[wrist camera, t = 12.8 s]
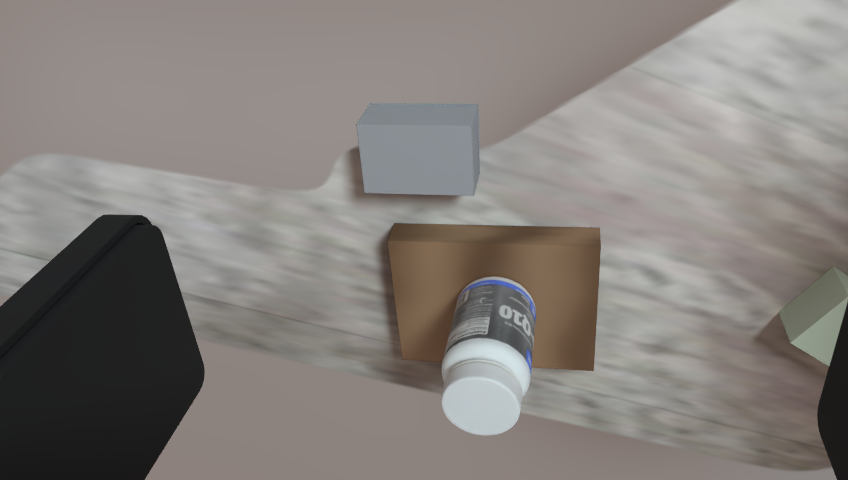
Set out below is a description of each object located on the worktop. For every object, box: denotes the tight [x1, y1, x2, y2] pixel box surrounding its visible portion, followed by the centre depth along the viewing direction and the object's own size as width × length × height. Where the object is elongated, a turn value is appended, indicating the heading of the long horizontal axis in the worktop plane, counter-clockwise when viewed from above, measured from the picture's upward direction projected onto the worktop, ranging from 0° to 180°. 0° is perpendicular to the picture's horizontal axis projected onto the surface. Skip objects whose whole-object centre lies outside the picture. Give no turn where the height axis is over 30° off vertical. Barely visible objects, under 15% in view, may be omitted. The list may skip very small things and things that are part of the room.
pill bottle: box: [441, 277, 536, 435], centre depth 39 cm, size 5×5×8 cm
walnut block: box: [388, 223, 601, 371], centre depth 44 cm, size 12×9×2 cm
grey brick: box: [356, 103, 480, 196], centre depth 39 cm, size 6×4×3 cm, turn 94°
